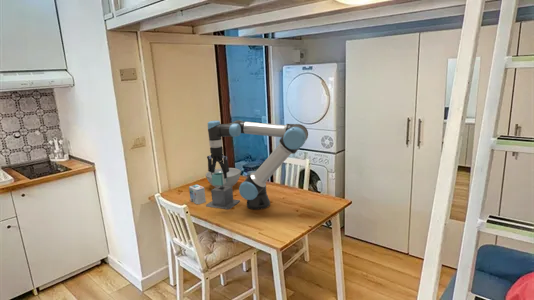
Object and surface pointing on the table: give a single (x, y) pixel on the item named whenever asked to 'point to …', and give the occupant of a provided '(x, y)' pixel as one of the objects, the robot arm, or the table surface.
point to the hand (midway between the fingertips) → (219, 182)
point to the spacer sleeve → (217, 179)
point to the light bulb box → (197, 194)
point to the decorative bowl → (231, 176)
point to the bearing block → (222, 198)
